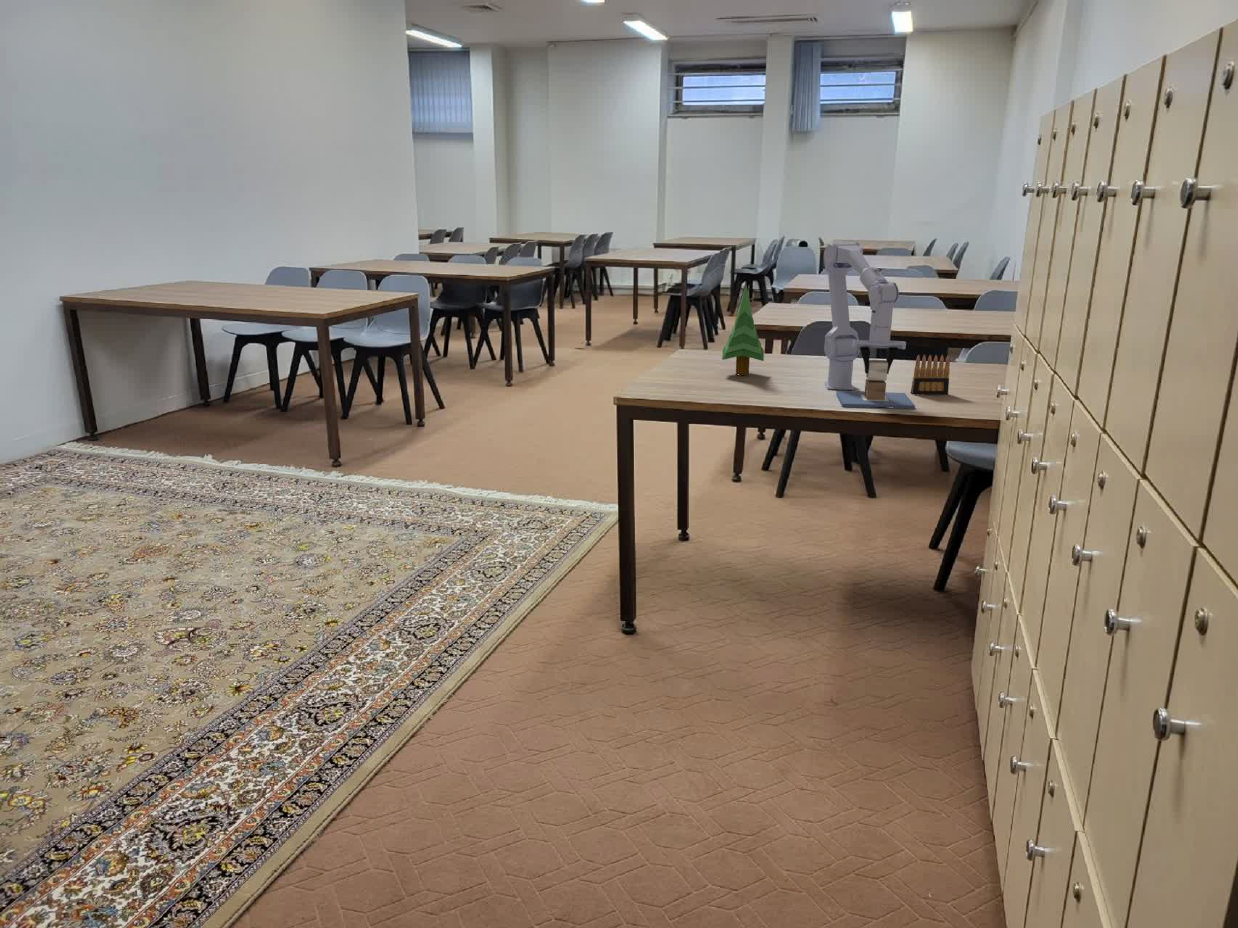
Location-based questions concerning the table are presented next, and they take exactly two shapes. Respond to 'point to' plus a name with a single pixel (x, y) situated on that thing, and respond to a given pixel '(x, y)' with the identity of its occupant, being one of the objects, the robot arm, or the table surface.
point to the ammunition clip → (931, 377)
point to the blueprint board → (860, 400)
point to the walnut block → (875, 389)
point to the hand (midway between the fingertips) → (876, 373)
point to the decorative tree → (743, 338)
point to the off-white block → (877, 370)
